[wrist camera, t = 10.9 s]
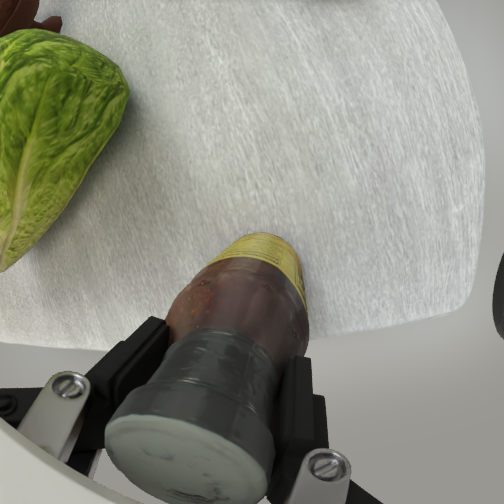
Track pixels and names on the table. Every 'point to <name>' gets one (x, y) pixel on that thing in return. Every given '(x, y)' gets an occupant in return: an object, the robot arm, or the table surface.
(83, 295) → the table surface
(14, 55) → the lettuce
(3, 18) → the ice cream bowl
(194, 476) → the sauce bottle
